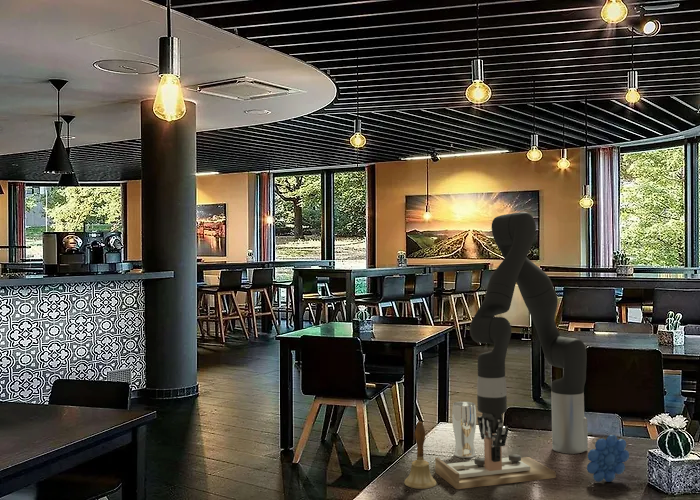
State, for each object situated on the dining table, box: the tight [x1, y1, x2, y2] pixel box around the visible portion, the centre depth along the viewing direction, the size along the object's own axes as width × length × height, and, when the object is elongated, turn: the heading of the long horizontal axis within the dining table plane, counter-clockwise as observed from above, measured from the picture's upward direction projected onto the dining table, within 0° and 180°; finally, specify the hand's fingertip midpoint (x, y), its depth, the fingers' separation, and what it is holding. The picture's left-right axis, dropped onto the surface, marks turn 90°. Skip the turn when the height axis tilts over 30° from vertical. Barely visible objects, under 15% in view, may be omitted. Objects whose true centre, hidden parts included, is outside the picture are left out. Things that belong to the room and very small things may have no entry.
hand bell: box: [403, 420, 437, 490], centre depth 181 cm, size 8×8×16 cm
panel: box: [446, 437, 530, 478], centre depth 186 cm, size 21×9×9 cm, turn 105°
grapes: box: [586, 434, 630, 483], centre depth 181 cm, size 12×7×12 cm, turn 101°
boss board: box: [434, 453, 557, 490], centre depth 187 cm, size 28×14×4 cm, turn 105°
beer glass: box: [451, 400, 477, 459], centre depth 205 cm, size 7×7×15 cm
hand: (493, 459), depth 183 cm, fingers closed on panel, 2 cm apart
